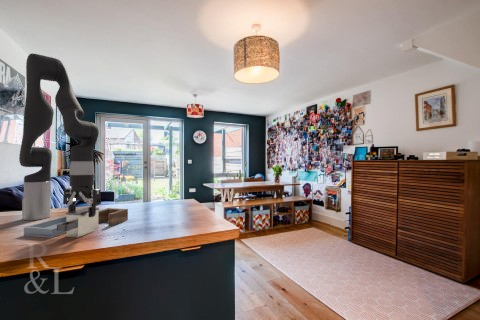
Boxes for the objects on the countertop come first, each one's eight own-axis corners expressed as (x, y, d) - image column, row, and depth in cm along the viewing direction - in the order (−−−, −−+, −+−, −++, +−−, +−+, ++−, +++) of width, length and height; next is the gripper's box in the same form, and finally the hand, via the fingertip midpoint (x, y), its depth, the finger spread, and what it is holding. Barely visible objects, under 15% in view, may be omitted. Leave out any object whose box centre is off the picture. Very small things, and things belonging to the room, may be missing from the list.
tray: (23, 235, 80) (23, 227, 80) (65, 222, 95) (65, 215, 95) (51, 237, 78) (51, 229, 78) (89, 224, 93) (89, 217, 93)
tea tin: (55, 240, 75) (55, 215, 75) (87, 228, 88) (87, 207, 88) (67, 241, 75) (68, 216, 74) (98, 229, 87) (98, 207, 87)
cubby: (91, 224, 93) (91, 212, 93) (108, 218, 103) (108, 207, 103) (112, 226, 92) (112, 214, 92) (127, 219, 101) (127, 209, 101)
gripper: (56, 173, 80) (56, 217, 80) (90, 174, 78) (89, 219, 78) (75, 172, 88) (74, 213, 88) (106, 173, 85) (106, 214, 85)
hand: (82, 216), depth 83 cm, fingers open, 8 cm apart
